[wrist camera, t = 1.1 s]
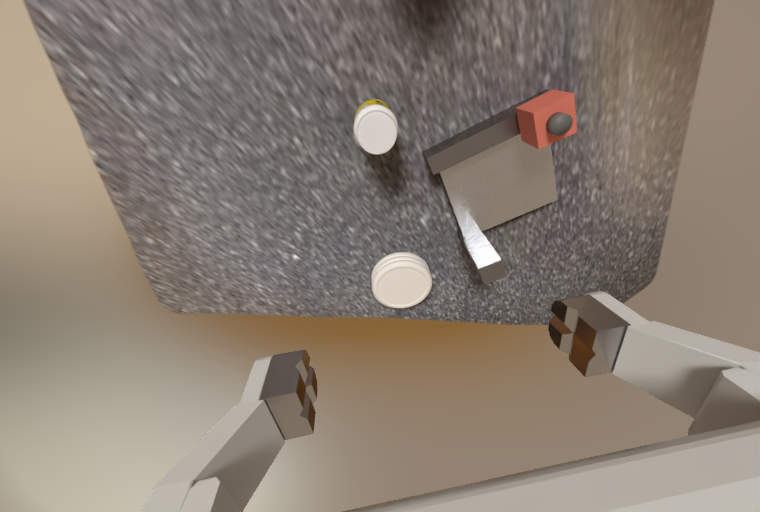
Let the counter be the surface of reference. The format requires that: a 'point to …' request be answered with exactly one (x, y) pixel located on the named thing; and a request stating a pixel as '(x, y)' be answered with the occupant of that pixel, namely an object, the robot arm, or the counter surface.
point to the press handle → (547, 118)
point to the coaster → (401, 280)
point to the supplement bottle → (375, 126)
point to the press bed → (492, 182)
